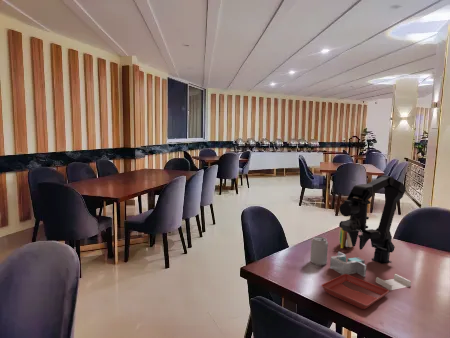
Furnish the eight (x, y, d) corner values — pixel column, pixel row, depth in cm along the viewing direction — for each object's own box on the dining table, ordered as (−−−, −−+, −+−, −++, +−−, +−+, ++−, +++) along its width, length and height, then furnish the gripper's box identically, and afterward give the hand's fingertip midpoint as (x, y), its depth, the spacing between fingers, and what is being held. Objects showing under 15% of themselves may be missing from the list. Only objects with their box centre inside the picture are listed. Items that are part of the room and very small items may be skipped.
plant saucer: (344, 280, 129) (345, 272, 128) (389, 298, 115) (390, 289, 115) (319, 293, 117) (320, 285, 117) (366, 315, 104) (367, 305, 103)
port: (338, 262, 146) (339, 251, 145) (365, 277, 131) (366, 265, 130) (324, 264, 143) (324, 253, 142) (349, 280, 128) (350, 267, 127)
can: (327, 266, 141) (329, 241, 139) (310, 265, 142) (312, 240, 141) (325, 260, 148) (327, 236, 147) (309, 258, 150) (311, 235, 148)
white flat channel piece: (395, 279, 130) (395, 273, 130) (410, 287, 123) (411, 281, 123) (375, 283, 126) (376, 277, 126) (390, 291, 119) (390, 285, 119)
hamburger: (352, 251, 162) (354, 229, 160) (336, 247, 166) (337, 226, 165) (357, 244, 172) (358, 223, 170) (341, 241, 176) (343, 221, 175)
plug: (357, 266, 142) (357, 257, 142) (363, 270, 138) (364, 260, 138) (344, 268, 140) (345, 258, 139) (351, 272, 136) (352, 262, 135)
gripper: (330, 210, 142) (328, 242, 144) (362, 220, 125) (359, 257, 127) (349, 208, 146) (347, 240, 148) (382, 218, 129) (379, 254, 131)
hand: (357, 247), depth 138 cm, fingers open, 4 cm apart
